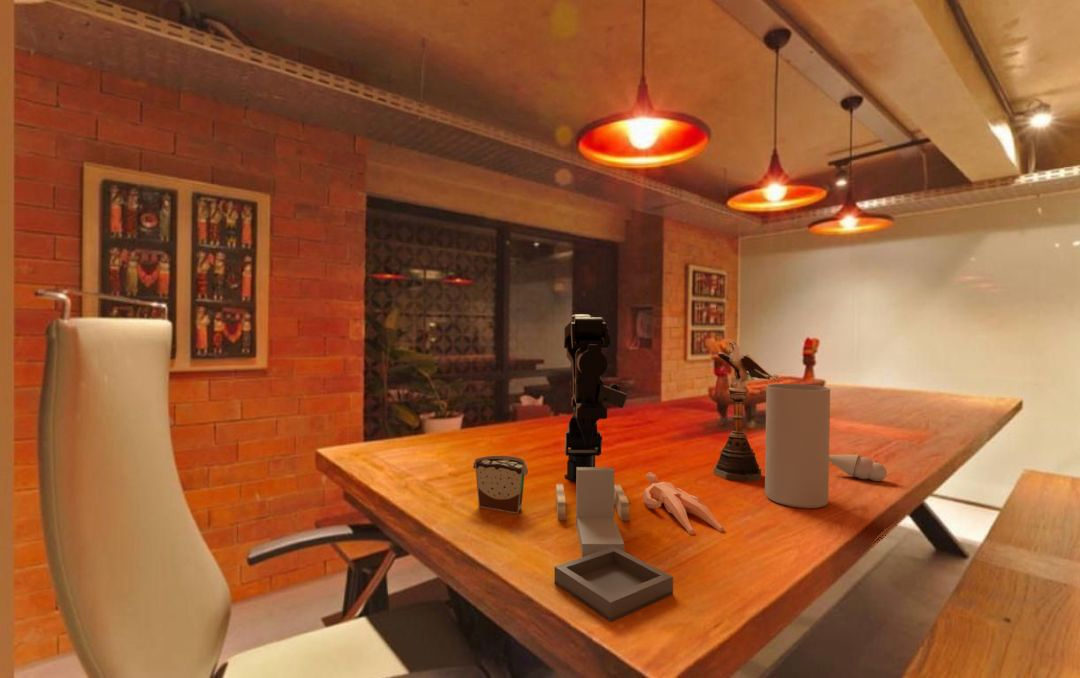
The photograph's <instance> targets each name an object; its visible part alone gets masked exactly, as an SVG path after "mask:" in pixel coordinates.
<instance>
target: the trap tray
mask: <svg viewBox="0 0 1080 678" xmlns="http://www.w3.org/2000/svg"><path fill="white" fill-rule="evenodd" d="M554 584H555V585H556V586H558V587H559V588H561V589H562V590H564V591H565V592H566V593H568V594H570V595H571V596H572V597H574V598H575V599H577V600H578V601H580V602H581V603H582V604H584V605H585V606H587V607H588V608H590V609H591V610H593V611H594V612H595V613H597V614H598V615H600V616H601V617H603V618H604V619H605V620H607V621H609V622H613V621H614V622H615V621H616V620H618V619H620V618H623V617H624V616H626V615H629V614H631V613H634V612H636V611H637V610H640V609H642V608H645V607H647V606H649V605H651V604H653V603H656V602H658V601H661V600H662V599H664V598H665V599H666V598H668V597H671V596H672V595H673V594H674V576H673V575H671V574H668V573H667V572H665V571H663V570H661V569H659V568H657V567H655V566H653V565H651V564H649V563H648V562H645V561H643V560H641V559H639V558H638V557H636V556H634V555H632V554H630V553H628V552H626V551H625V550H624V551H622V550H620V549H618V548H616V547H611V548H608V549H605V550H602V551H599V552H596V553H593V554H590V555H587V556H581V557H579V558H576V559H573V560H569V561H567V562H564V563H560V564H557V565H555V566H554Z"/></svg>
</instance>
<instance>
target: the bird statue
mask: <svg viewBox="0 0 1080 678" xmlns="http://www.w3.org/2000/svg"><path fill="white" fill-rule="evenodd" d="M728 346H730V347H729V348H728V351H726V353H724V352H719V353H718V354H717V357H719V358H720V359H722V361H724V362H725V363H726V364H728V366H730V367H731V368H732V369H733V370H734V376H735V378H734V379H733V380H732V381H730V387H728V389H727V391H728V392H729V394H728V398H729V399H730V400H733V402H732V403H733V415H732V416H731V418H732V419H733V430H731V432H730V433H729V434H728V438H727V440H726V442H725V445H724V446H723V447H722V449H721V451H720V452H719V454H720V455H719V458H718V461H717V463H716V464H715V465H714V466H713V475H715V476H717V477H720V478H722V479H725V480H728V481H736V482H742V483H743V482H744V483H745V482H746V483H747V482H754V481H761V478H762V469H761V468H760V465H759V464H758V461H757V458H756V452H754V449H752V447H751V444H750V443H749V440H748V435H747V434H746V433H745V432H744V431H743V428H744V427H743V423H744V422H743V421H744V418H745V416H744V410H743V409H744V405H743V403H744V401H746V400H748V393H749V391H750V390H749V388H747V384H746V378H747V375H749V377H750V378H751V379H752V378H755V379H759V380H761V379H762V380H770V379H771V378H772V379H773V380H774V381H775V382H777V384H780V381H779V380H778V378H779V375H778V374H775V373H769V372H768V371H767V370H765V369H764V368H763V367H762V366H761V364H759V363H758V362H757V361H756V360H755V359H754V358H753V357H751V356H750V355H749V354H742V356H741V355H740V347H739V345H738V343H736V342H734V341H729V342H728ZM731 348H732V351H731Z"/></svg>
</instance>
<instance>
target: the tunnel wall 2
mask: <svg viewBox="0 0 1080 678" xmlns="http://www.w3.org/2000/svg"><path fill="white" fill-rule="evenodd" d="M614 507H615V509H616V511H617V513H618V516H619V518H620V520H621V521H622V522H623V521H625V522H626V521H628V522H629V521H630V501H629V500H628V497H627V496H626V493H625V491H624V489H623V488H622V486H621V484H620V483H614Z"/></svg>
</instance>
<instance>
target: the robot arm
mask: <svg viewBox="0 0 1080 678" xmlns="http://www.w3.org/2000/svg"><path fill="white" fill-rule="evenodd" d="M563 329H564V331H563V349H566V350H565V352H566V355H565V356H566V358H567V359H568V361H569V362H570V363H571V367H572V394H573V395H572V397H571V407H572V408H573V415H572V417H571V418H570V420H569V422H568V425H567V430H566V431H565V436H564V438H565V439H564V453H565V456H566V457H568V460H567V461H566V474H564V478H566V479H569V480H572V481H574V482H576V467H596V457H599V456H600V455H602V445H603V437H602V436H601V433H600V432H601V431H599V430H598V424H597V422H598V421H599V420H606V419H608V408H607V407H606V406H605V405H604V404H605V403H608V404H612V405H614V406H616V407H617V408H620V409H624V406H625V403H626V401H627V398H628V394H627V393H626V392H623V391H621V389H620V386H619V385H618V384H616V383H611V384H610V385H609V386H607V385H604V384H605V383H604V382H605V381H604V380H603V379H602V376H603V375H604V374H605V372H606V371H607V368H608V361H607V357H606V356H605V354H604V353H603V352H602V349H609V346H610V345H611V336H610V330H609V327H608V326H607V322H605V321H604V318H603V317H599V316H598V317H595V316H594V317H593V316H592V315H590V314H588V313H586V314H584V313H579V314H577V313H574V314H573V315H571V320H570V322H569V323H568V324H567V325H566V326H565V327H564V328H563Z"/></svg>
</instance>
